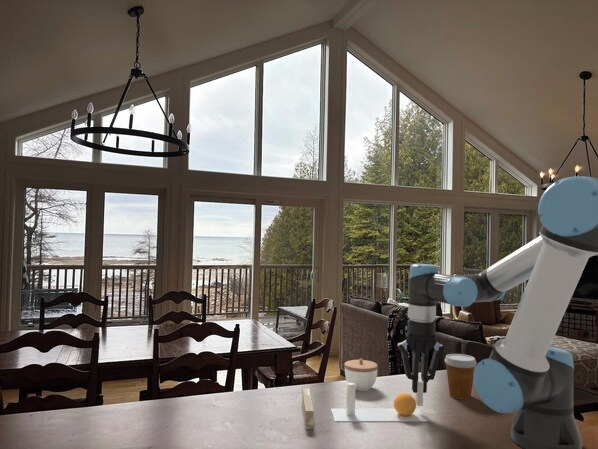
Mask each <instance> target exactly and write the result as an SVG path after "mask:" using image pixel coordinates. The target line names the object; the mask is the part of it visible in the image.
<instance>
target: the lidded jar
mask: <svg viewBox="0 0 598 449" xmlns="http://www.w3.org/2000/svg"><path fill="white" fill-rule="evenodd" d="M378 368H379V367H378V364H377V362H374V361H372V360H366V359H363V358H359V359H352V360H351V359H350V360H347V361H345V362H344V375H345V381H346V382H347V383H355V384H356V387H355V391H357V392H358V391H360V392H366V391H369V390H371V388H372V387H373V386H374V385H375V383H376V381H377V377H378Z"/></svg>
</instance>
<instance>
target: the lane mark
mask: <svg viewBox="0 0 598 449" xmlns="http://www.w3.org/2000/svg"><path fill="white" fill-rule="evenodd" d="M330 410H331V414H332V418H333V420H334V422H336V423H342V422H343V423H345V422H346V423H349V422H352V423H357V422H358V423H360V422H361V423H366V422H367V423H371V422H372V423H373V422H377V423H378V422H379V423H383V422H384V423H385V422H386V423H390V422H391V423H392V422H393V423H396V422H399V423H401V422H402V423H403V422H405V423H409V422H411V423H413V422H414V423H415V422H418V423H420V422H421V423H428V422H429V420H428V419H427V417H425V415H424V414H423V413H422V412H421V410H420V409H419V408H416V409H415V411H414V412H413V413H412V414H411V415H409V416H403V415H400V414H399V413H398V412H397V411H396V410H395V407H394V408H386V407H385V408H382V407H381V408H373V407H372V408H366V407H365V408H363V407H361V408H359V407H358V408H356V407H355V415H354V416H348V415H346V407H345V408H340V407H339V408H330Z"/></svg>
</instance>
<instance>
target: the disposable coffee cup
mask: <svg viewBox="0 0 598 449" xmlns="http://www.w3.org/2000/svg"><path fill="white" fill-rule="evenodd" d="M477 362H478V361H477V360H476V358H475V357H474V356H472V355H468V354H465V353H464V354H463V353H449V354H446V355H445V358H444V363H445V367H446V376H447V383H448V390H449V391H448V392H449V393H448V394H449V396H450V397H451V398H454V399H458V400H468V399H469V400H470V399H471V397H472V393H473V392H472V391H473V389H472V388H473V385H474V380H473V374H474V369H475V367H476V365H477V364H478V363H477Z"/></svg>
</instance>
